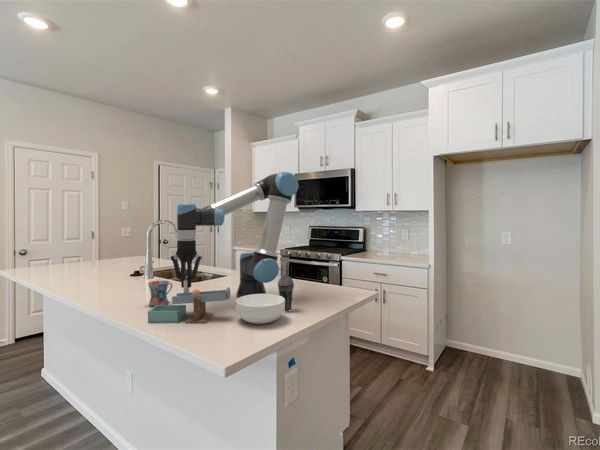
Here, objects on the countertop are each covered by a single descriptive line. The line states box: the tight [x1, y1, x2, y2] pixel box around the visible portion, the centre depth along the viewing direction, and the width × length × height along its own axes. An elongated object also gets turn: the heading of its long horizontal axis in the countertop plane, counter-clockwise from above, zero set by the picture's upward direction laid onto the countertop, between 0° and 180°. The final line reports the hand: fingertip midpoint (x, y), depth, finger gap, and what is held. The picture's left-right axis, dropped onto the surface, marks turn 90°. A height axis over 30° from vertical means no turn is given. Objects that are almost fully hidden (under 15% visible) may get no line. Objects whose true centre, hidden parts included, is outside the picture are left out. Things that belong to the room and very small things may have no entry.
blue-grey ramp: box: [171, 286, 231, 305], centre depth 137 cm, size 22×13×4 cm, turn 92°
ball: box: [192, 289, 202, 295], centre depth 134 cm, size 4×4×4 cm
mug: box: [147, 280, 173, 307], centre depth 155 cm, size 12×9×11 cm
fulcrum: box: [185, 298, 214, 324], centre depth 134 cm, size 8×11×10 cm
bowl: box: [235, 293, 285, 325], centre depth 133 cm, size 20×20×8 cm
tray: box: [147, 304, 187, 324], centre depth 134 cm, size 12×9×4 cm
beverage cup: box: [277, 265, 295, 312], centre depth 146 cm, size 7×7×20 cm
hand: (186, 295), depth 140 cm, fingers closed
